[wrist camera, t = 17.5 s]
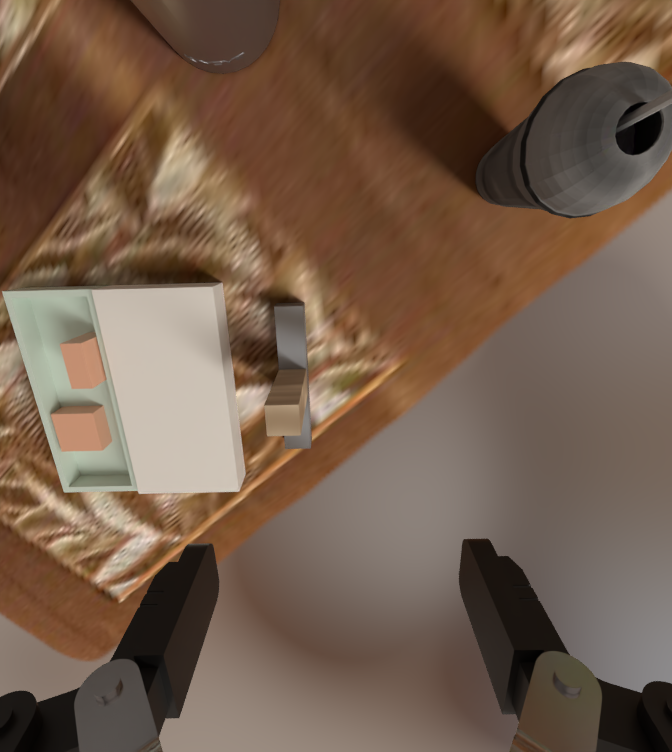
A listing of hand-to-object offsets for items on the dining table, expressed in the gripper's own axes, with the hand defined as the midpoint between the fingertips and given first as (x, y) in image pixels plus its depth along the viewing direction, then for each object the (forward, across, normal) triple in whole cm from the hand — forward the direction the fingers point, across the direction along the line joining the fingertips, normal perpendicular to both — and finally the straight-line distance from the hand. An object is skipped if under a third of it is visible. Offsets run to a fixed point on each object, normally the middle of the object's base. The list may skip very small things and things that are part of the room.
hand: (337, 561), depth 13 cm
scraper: (+26, +4, +3) cm, 27 cm away
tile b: (+24, +25, +7) cm, 35 cm away
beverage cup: (+26, -14, -14) cm, 33 cm away
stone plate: (+26, +15, +4) cm, 30 cm away
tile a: (+24, +21, 0) cm, 32 cm away
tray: (+26, +24, +4) cm, 36 cm away
